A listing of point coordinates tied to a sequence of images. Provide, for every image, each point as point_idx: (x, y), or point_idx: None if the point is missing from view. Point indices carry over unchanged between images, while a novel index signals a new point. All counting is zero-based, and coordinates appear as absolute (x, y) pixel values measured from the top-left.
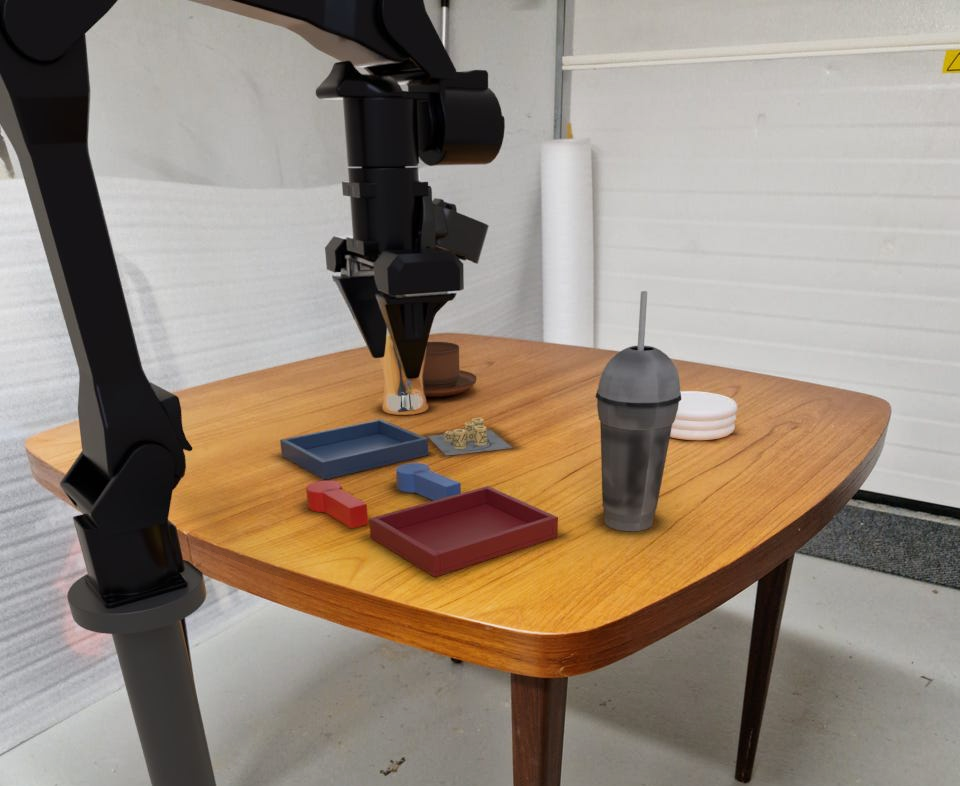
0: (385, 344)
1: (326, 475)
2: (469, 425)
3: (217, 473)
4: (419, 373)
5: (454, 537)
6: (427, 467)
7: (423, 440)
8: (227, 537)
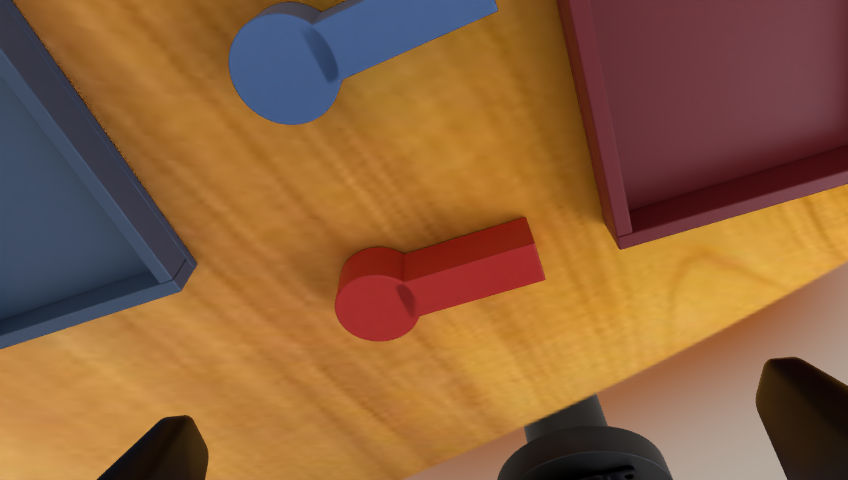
0: (159, 466)
1: (188, 263)
2: None
3: (127, 433)
4: (814, 368)
5: (740, 50)
6: (287, 22)
7: None
8: (480, 427)
